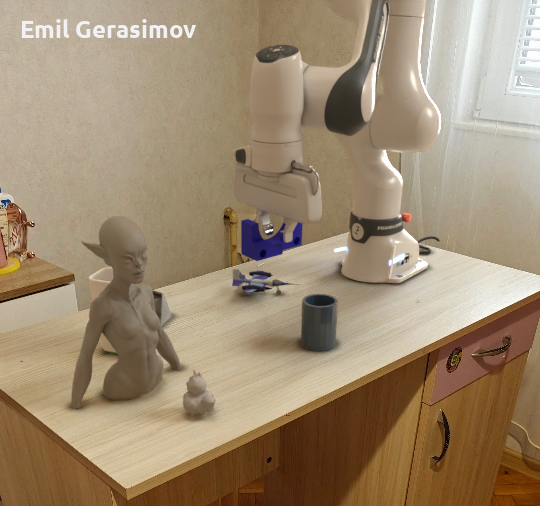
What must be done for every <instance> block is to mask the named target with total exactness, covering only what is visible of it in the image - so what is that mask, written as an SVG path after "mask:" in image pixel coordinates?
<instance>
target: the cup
mask: <svg viewBox="0 0 540 506" xmlns="http://www.w3.org/2000/svg"><path fill="white" fill-rule="evenodd" d="M112 280H113V268H112V267H111V266H107V267H103V268H100V269H99V270H97V271H96V272H94V273H92V274H91V275H89V276H88V283H89V284H88V285H89V290H90V297H91V303H92V302H93V301H94V300H95V299H96V298H98V297H99V294H100V293H101V292H102V291H103V290H104V289H105V288H106V286H107V285H108V284H109V283H110V282H111V281H112ZM99 340H100V342H101V345H102V349H103V351H105V352H108V353H111V354H117V355H118V353H117V352H116V351H115V350H114V348H113V347H112V345H111V344H110V343H109V341H108V340H107V338H106V337H105V336H104V334H103V333H102V334H101V336H100V339H99Z"/></svg>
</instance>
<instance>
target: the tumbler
mask: <svg viewBox="0 0 540 506" xmlns="http://www.w3.org/2000/svg"><path fill="white" fill-rule="evenodd" d="M338 309H339V299H338V298H337V297H335V296H333V295H330V294H325V293H313V294H312V293H311V294H308V295H305V296H303V298H302V299H301V327H300V328H301V329H300V346H302V347H303V348H304V349H306V350H309V351H313V352H326V351H329V350H332V349H334V348H335V347H336V341H337V324H338V311H339V310H338Z"/></svg>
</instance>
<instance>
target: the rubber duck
mask: <svg viewBox="0 0 540 506" xmlns="http://www.w3.org/2000/svg"><path fill="white" fill-rule="evenodd" d="M185 385H186V390H187V391H186V392H185V393H184V394H183V396H182V406H183V409H184V410H185V412H187V413H189V414H191V415H193V416H200V415H203V414H205V413H209V414H211V413H213V412H215V403H216V401H217V400H216V398H215V396H214V395H215V394H214V393H213V392H212V391H210V390H208V387H207V386H208V385H207V380H206V378H205V377H204V376H203V374H202V373H201V372H200V371H199V372H198V373H197V372H196V370H195V368H193V375H191V376H189V377H188V381H187V382H186V384H185Z"/></svg>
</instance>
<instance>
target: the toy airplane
mask: <svg viewBox="0 0 540 506" xmlns="http://www.w3.org/2000/svg"><path fill="white" fill-rule="evenodd" d="M248 275H249V276H250V277H251V278H246V274H243V273H242V271H240V269H232V284H231V286H232V287H239V286H241V285H242V284H244V283H245V285H242V286H241V289H242V290H243V291H242V294H243V295H244V296H247V295H248V294H253V293H263V292H265V291H267V290H272V289H273V288H274V287H276V294H277V295H281V294H282V291H281V290H280V288H279V287H281V286H289V285H290V286H291V285H292V286H293V285H294V286H295V285H296V286H300V284H297V283H288V282H285V281H284V279H283V280H282V279H281V278H272V277H273V276H274V274H272V273H271V272H268V271H264V270H254V271H253V270H252V271H250V272H249V273H248Z"/></svg>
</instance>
